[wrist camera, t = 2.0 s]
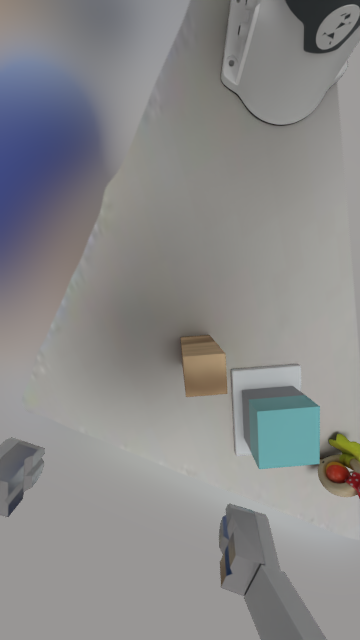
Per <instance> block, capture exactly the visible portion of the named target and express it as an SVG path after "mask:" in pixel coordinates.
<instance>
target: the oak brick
mask: <svg viewBox="0 0 360 640" xmlns="http://www.w3.org/2000/svg"><path fill="white" fill-rule="evenodd" d="M181 350H182V363H183V373H184V382H185V392H186V397H193V396H205V395H218V394H227V376H226V356H225V352H224V351H223V350H222V349H221V348H220V347H219V345H218V344H217V343H216V342H215V341H214V340H213V339H212V337H211V336H210V335H201V336H188V337H181Z"/></svg>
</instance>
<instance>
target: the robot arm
mask: <svg viewBox="0 0 360 640" xmlns="http://www.w3.org/2000/svg"><path fill="white" fill-rule="evenodd" d="M359 41H360V0H231V1H230V9H229V17H228V25H227V32H226V40H225V48H224V56H223V64H222V72H221V80H222V82H223V84H224V85H225V86H227V87H228V88H229V89H231V90H232V91H234V92H236V93H237V94H238V95H239V96H240V98H241V99H242V101H243V102H244V104H245V105H246V107H247V108H248V109H249V110H250V111H251V112H252V113H253V114H254V115H255V116H257V117H258V118H260V119H261V120H263V121H266V122H268V123H272V124H279V125H284V124H291V123H294V122H297V121H300V120H302V119H303V118H305V117H307V116H308V115H309V114H310V113H312V112H313V111H314V110H315V108H316V107H317V106H318V105H319V103H320V102H321V100H322V98H323V97H324V95H325V93H326V92H327V90H328V89H329V88H330V87H331V86H332V85H333V84H335V83H336V82H337V81H338V80H339V79H340V78H341V77H342V76H343V74H344V72H345V71H346V69H347V67H348V58H349V57H350V55H351V53H352V52H353V50H354V49H355V47H356V46H357V44H358V43H359ZM229 65H231V66H229ZM44 454H45V448H43V447H40V446H36V445H33V444H31V443H28V442H25V441H22V440H18V439H15V438H12V437H11V438H9V439H7V440H5V441H4V442H3V443H2V444H1V445H0V515H2V516H5V517H9V516H10V514H11V513H12V512H13V510H14V509H15V508H16V507H17V506H18V504H19V503H20V502H21V501H22V499H23V495H24V492H25V491H26V490H28V489H30V488H31V487H33V485H34V484H35V483H36V481H37V480H38V478H39V476H40V474H41V473H42V470H43V467H44V461H43V459H42V456H43V455H44ZM219 547H220V549H221V551H222V554H223V556H222V559H221V561H220V575H221V588H223V589H226V590H229V591H231V592H234V593H237V594H240V595H242V596H245V597H244V599H245V602H246V604H247V607H248V609H249V611H250V614H251V616H252V619H253V621H254V624H255V626H256V629H257V631H258V634H259V636H260V639H261V640H327V639H326V637H325V636H324V634H323V633H322V631H321V629H320V628H319V626H318V625H317V623H316V621H315V620H314V618H313V617H312V615H311V613H310V612H309V610H308V609H307V607H306V606H305V604H304V602H303V601H302V599H301V597H300V596H299V594H298V593H297V591H296V590H295V588H294V586H293V585H292V583H291V582H290V580H289V578H288V577H287V575H286V573H285V572H282V571H281V570H280V566H279V562H278V558H277V554H276V550H275V546H274V541H273V538H272V534H271V529H270V525H269V521H268V518H267V516H266V515H265V514H262V513H258V512H255V511H252V510H250V509H246V508H243V507H239V506H236V505H232V504H228V505H227V507H226V515H225V516H223V517H222V520H221V523H220V529H219Z"/></svg>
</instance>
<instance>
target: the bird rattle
mask: <svg viewBox="0 0 360 640" xmlns="http://www.w3.org/2000/svg"><path fill="white" fill-rule="evenodd" d="M329 443H330V445H331V446H333V447H335V448H337V449H339V450H341V451H342V453H343V454H342V455H341V454H337V455H331V456H329V457H327V458H325V459H320V464H319V467H318V476H319V479H320V481H321V483H322V485H323V486H324V487H325V488H326V489H327V490H328V491H329V492H331V493H332V494H334V495H337V496H341V497H352V496H355V495H358V496H359V498H360V444H359V443H357V442H350V441H349V440H348V439H347V438H346V437H345V436H343V435H342V434H337V436H336V440H332V439H329ZM345 466H346V467H348V468H350V469H352V470H354V471H351V472H349V471H348V469H347V468H346V467H345ZM350 473H353V474H352V476H351V475H350Z"/></svg>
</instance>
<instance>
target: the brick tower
mask: <svg viewBox="0 0 360 640" xmlns="http://www.w3.org/2000/svg"><path fill="white" fill-rule="evenodd" d="M231 381H232V403H233V424H234V445H235V454H236V456H244V455H253V458H254V460H255V462H256V464H257V466H258V468H259V469H267V468H278V467H290V466H301V465H313V464H320V406H318V405H317V404H316V403H315V402H313V401H312V400H311V399H309V398H308V397H307V396H305V395H304V394H303V393H302V392H301V366H300V365H299V364H292V365H279V366H267V367H254V368H241V369H231Z"/></svg>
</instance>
